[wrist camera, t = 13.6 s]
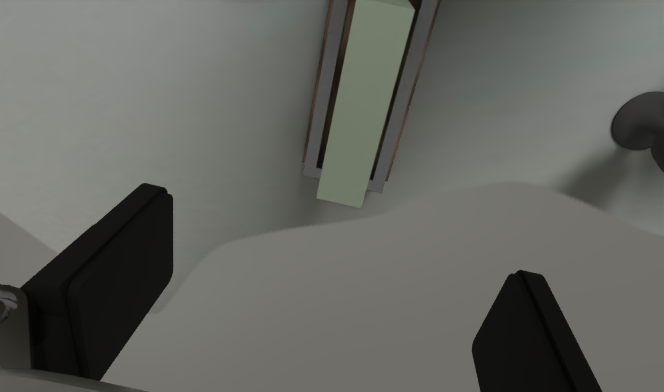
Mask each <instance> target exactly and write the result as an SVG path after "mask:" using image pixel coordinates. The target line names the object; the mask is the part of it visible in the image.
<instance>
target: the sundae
mask: <svg viewBox="0 0 664 392" xmlns="http://www.w3.org/2000/svg"><path fill="white" fill-rule="evenodd" d="M612 131H613V136H614V139H615V140H616V141H617V142H618V143H619V144H620V145H621V146H622V147H625V148H628V149H631V150H642V149H648V148H651V153H652V156H653V158H654V160H655V161H656V163H657V164H658V166H659V167H660V169H661V170H662V171H663V172H664V92H647V93H644V94H641V95H639V96H637V97H635V98H633V99H631V100H630V101H629V102H627V103H626V104H625V105H624V106H623V107H622V108H621V109H620V110H619V112H618V113H617V115H616V117H615V119H614V122H613V127H612Z"/></svg>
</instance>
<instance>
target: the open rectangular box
mask: <svg viewBox="0 0 664 392" xmlns="http://www.w3.org/2000/svg"><path fill="white" fill-rule="evenodd" d="M440 1H441V0H409V2H410V3H411V5H412V6H413V8H414V9H415V12H414V16H413V19H412V23H411V27H410V30H409V34H408V38H407V41H406V45H405V49H404V53H403V56H402V60H401V64H400V67H399V71H398V75H397V78H396V82H395V86H394V89H393V93H392V97H391V101H390V104H389V108H388V112H387V115H386V119H385V123H384V126H383V130H382V134H381V137H380V141H379V145H378V149H377V152H376V156H375V160H374V163H373V167H372V171H371V174H370V178H369V182H368V185H367V189H366V190H370V191H374V192H378V193H382V190H383V186H384V183H385V181H387V180H388V177H389V174H390V170H391V167H392V163H393V160H394V157H395V153H396V150H397V147H398V143H399V140H400V136H401V133H402V130H403V126H404V123H405V119H406V116H407V113H408V109H409V106H410V103H411V99H412V96H413V92H414V89H415V86H416V82H417V79H418V75H419V72H420V69H421V65H422V62H423V59H424V55H425V52H426V48H427V45H428V42H429V38H430V35H431V31H432V28H433V25H434V21H435V18H436V15H437V11H438V8H439V4H440ZM355 4H356V0H330V5H329V11H328V16H327V22H326V28H325V34H324V40H323V45H322V51H321V57H320V63H319V69H318V74H317V80H316V86H315V92H314V98H313V104H312V109H311V115H310V121H309V127H308V133H307V138H306V144H305V150H304V156H303V162H304V163H305V165H304V171H303V175H304V176H308V177H313V178H317V179H320V177H321V172H322V167H323V162H324V157H325V152H326V147H327V142H328V137H329V132H330V127H331V123H332V118H333V113H334V108H335V103H336V98H337V93H338V88H339V83H340V78H341V73H342V68H343V63H344V58H345V53H346V48H347V43H348V39H349V34H350V29H351V24H352V19H353V14H354V9H355Z"/></svg>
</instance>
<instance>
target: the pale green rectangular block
mask: <svg viewBox="0 0 664 392" xmlns="http://www.w3.org/2000/svg"><path fill="white" fill-rule="evenodd" d="M414 12H415V9H414V8H413V6H412V5H411V3H410V2H409V0H356V4H355V9H354V14H353V19H352V24H351V29H350V34H349V39H348V43H347V48H346V53H345V58H344V63H343V68H342V73H341V78H340V83H339V88H338V93H337V98H336V103H335V108H334V113H333V118H332V123H331V127H330V132H329V137H328V142H327V147H326V152H325V157H324V162H323V167H322V172H321V177H320V182H319V187H318V192H317V197H316V198H318V199H322V200H326V201H331V202H335V203H339V204H344V205H348V206H352V207H357V208H362V204H363V200H364V196H365V193H366V189H367V185H368V182H369V178H370V174H371V171H372V167H373V163H374V160H375V156H376V152H377V149H378V145H379V141H380V137H381V134H382V130H383V126H384V123H385V119H386V115H387V112H388V108H389V104H390V101H391V97H392V93H393V89H394V86H395V82H396V78H397V75H398V71H399V67H400V64H401V60H402V56H403V53H404V49H405V45H406V41H407V38H408V34H409V30H410V27H411V23H412V19H413V16H414Z"/></svg>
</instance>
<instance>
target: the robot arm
mask: <svg viewBox="0 0 664 392" xmlns="http://www.w3.org/2000/svg"><path fill="white" fill-rule="evenodd" d="M172 274H173V197H172V195H171V194H168V193H167V190H166V188H164V187H160V186H156V185H151V184H147V183H143V184H141V185H140V186H139V187H138V188H136V189H135V190H134V191H133V192H132V193H131V194H129V195H128V196H127V197H126V198H125V199H124V200H123V201H121V202H120V203H119V204H118V205H117V206H116V207H114V208H113V209H112V210H111V211H110V212H109V213H108V214H106V215H105V216H104V217H103V218H102V219H101V220H99V221H98V222H97V223H96V224H94V225H93V226H91V227H90V228H89V229H88V230H87V231H85V232H84V233H83V234H82V235H81V236H80V237H78V238H77V239H76V240H75V241H74V242H73V243H72V244H70V245H69V246H68V247H67V248H66V249H65V250H63V251H62V252H61V253H60V254H59V255H58V256H56V257H55V258H54V259H53V260H52V261H51V262H50V263H48V264H47V265H46V266H45V267H44V268H43V269H42V270H40V271H39V272H38V273H37V274H36V275H35V276H33V277H32V278H31V279H30V280H29V281H27V282H26V283H25V284H24V285H23V286H22V287H21V288H17V287H14V286H11V285H1V284H0V392H147V391H143V390H138V389H133V388H129V387H124V386H119V385H115V384H110V383H105V382H101V381H100V380H101V379H102V377H103V376H104V374H105V373H106V371H107V370H108V369H109V367H110V366H111V364H112V363H113V361H114V360H115V358H116V357H117V356H118V354H119V353H120V351H121V350H122V349H123V347H124V346H125V344H126V343H127V342H128V340H129V339H130V337H131V336H132V334H133V333H134V331H135V330H136V329H137V327H138V326H139V324H140V323H141V321H142V320H143V319H144V317H145V316H146V314H147V313H148V312H149V310H150V309H151V307H152V306H153V305H154V303H155V302H156V300H157V299H158V297H159V296H160V295H161V293H162V292H163V290H164V289H165V287H166V286H167V285H168V283H169V281H170V279H171V277H172ZM472 354H473V359H474V364H475V368H476V373H477V377H478V382H479V387H480V391H481V392H602V390H601V388H600V386H599V384H598V382H597V380H596V378H595V376H594V374H593V372H592V371H591V368H590V366H589V364H588V362H587V360H586V359H585V357H584V355H583V353H582V351H581V349H580V347H579V345H578V343H577V341H576V339H575V337H574V335H573V333H572V331H571V329H570V327H569V325H568V323H567V321H566V319H565V317H564V315H563V313H562V311H561V309H560V307H559V305H558V303H557V301H556V299H555V297H554V295H553V294H552V291H551V289H550V287H549V286H548V283H547V282H546V280H545V278H544V277H543V276H542V275H540V274H536V273H532V272H527V271H523V270H519V271H517V272H516V273H515V274H510V275H509V276H508V277H507V279H506V281H505V283H504V285H503V287H502V288H501V291H500V292H499V294H498V296H497V298H496V300H495V301H494V303H493V305H492V307H491V309H490V311H489V313H488V315H487V317H486V318H485V320H484V322H483V324H482V326H481V327H480V329H479V331H478V333H477V335H476V337H475V339H474V341H473V344H472Z"/></svg>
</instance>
